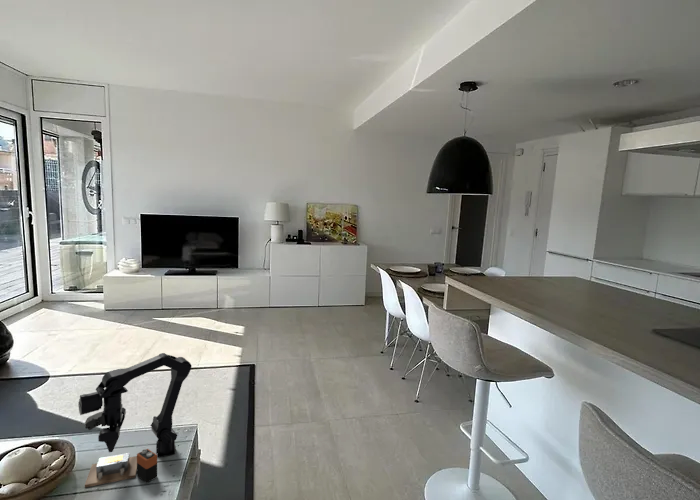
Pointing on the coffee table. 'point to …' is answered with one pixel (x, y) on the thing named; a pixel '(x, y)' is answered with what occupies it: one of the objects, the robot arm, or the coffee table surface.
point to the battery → (146, 465)
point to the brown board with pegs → (94, 480)
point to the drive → (112, 464)
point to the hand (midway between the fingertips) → (113, 444)
